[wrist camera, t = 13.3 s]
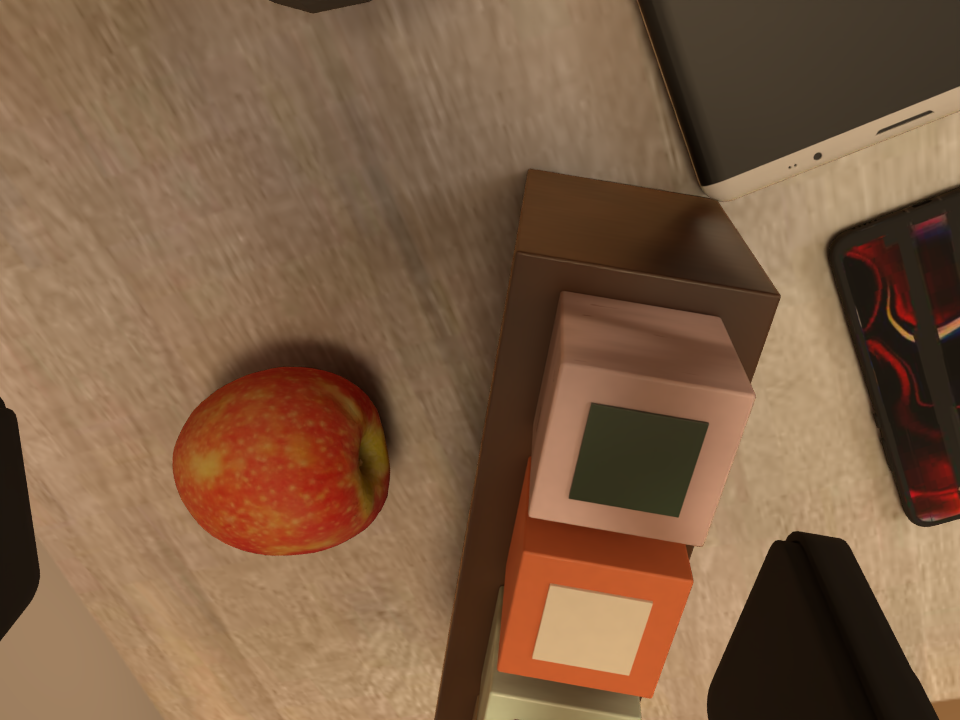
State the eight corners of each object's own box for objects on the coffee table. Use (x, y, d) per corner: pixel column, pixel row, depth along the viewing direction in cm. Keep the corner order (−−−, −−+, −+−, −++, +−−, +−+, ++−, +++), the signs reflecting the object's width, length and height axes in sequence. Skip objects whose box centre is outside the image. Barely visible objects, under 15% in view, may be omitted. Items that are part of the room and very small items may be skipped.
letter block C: (532, 425, 24) (527, 521, 20) (560, 289, 22) (561, 364, 18) (679, 450, 24) (704, 551, 20) (721, 316, 22) (759, 397, 18)
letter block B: (481, 675, 29) (468, 793, 25) (500, 584, 27) (489, 695, 23) (602, 696, 29) (609, 818, 25) (630, 606, 27) (643, 722, 23)
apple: (411, 478, 38) (376, 596, 31) (247, 486, 39) (177, 603, 32) (381, 328, 34) (334, 423, 27) (202, 343, 36) (113, 437, 29)
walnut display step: (453, 600, 41) (425, 775, 32) (528, 167, 31) (515, 250, 22) (594, 625, 41) (604, 807, 32) (717, 199, 31) (782, 295, 22)
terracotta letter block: (505, 564, 27) (496, 675, 23) (528, 454, 25) (522, 553, 21) (638, 588, 27) (652, 702, 23) (672, 479, 25) (695, 584, 21)
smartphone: (1026, 166, 28) (1085, 486, 34) (1017, 162, 29) (1076, 477, 34) (823, 243, 30) (910, 533, 36) (818, 238, 31) (904, 524, 36)
